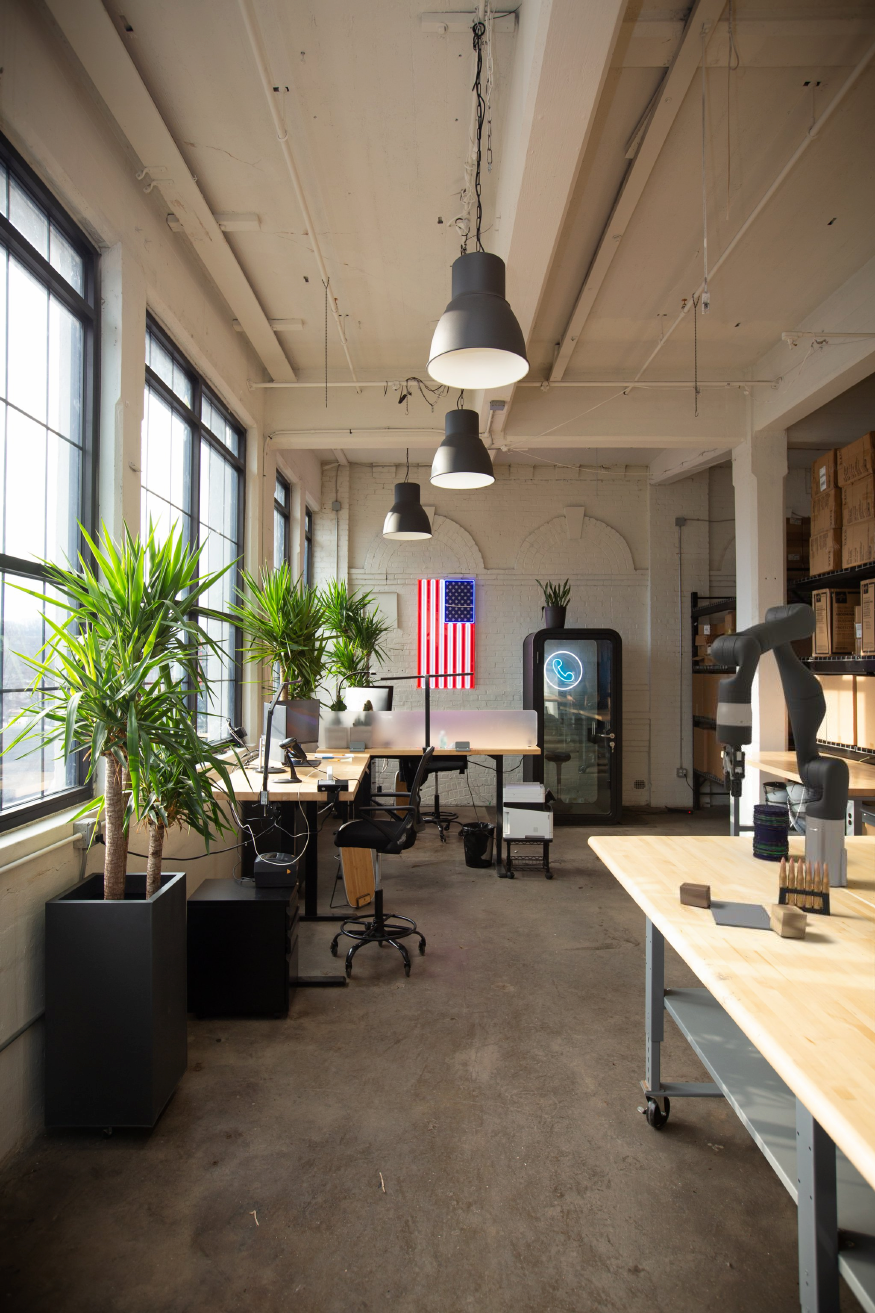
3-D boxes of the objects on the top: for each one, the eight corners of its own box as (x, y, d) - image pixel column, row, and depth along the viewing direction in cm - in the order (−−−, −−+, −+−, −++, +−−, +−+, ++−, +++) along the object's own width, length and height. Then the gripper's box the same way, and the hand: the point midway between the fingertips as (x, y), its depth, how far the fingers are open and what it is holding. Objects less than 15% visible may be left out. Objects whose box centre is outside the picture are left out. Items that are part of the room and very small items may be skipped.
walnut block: (685, 899, 171) (684, 882, 171) (710, 902, 167) (710, 885, 168) (680, 903, 167) (679, 886, 168) (706, 907, 164) (705, 890, 164)
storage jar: (745, 855, 214) (745, 805, 214) (768, 852, 218) (768, 803, 218) (773, 863, 204) (773, 812, 205) (796, 860, 209) (797, 809, 209)
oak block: (792, 929, 152) (795, 906, 152) (804, 938, 147) (807, 914, 147) (769, 926, 152) (772, 903, 152) (780, 936, 147) (783, 912, 147)
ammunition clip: (829, 913, 163) (830, 861, 163) (830, 916, 161) (831, 863, 161) (778, 906, 167) (778, 855, 167) (778, 908, 165) (779, 857, 166)
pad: (761, 906, 167) (761, 905, 167) (775, 931, 151) (776, 929, 151) (707, 901, 170) (707, 899, 170) (716, 924, 154) (716, 922, 154)
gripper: (758, 726, 154) (756, 800, 154) (745, 721, 168) (744, 790, 168) (721, 724, 156) (720, 798, 156) (712, 720, 170) (710, 787, 170)
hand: (732, 793), depth 162 cm, fingers open, 8 cm apart
